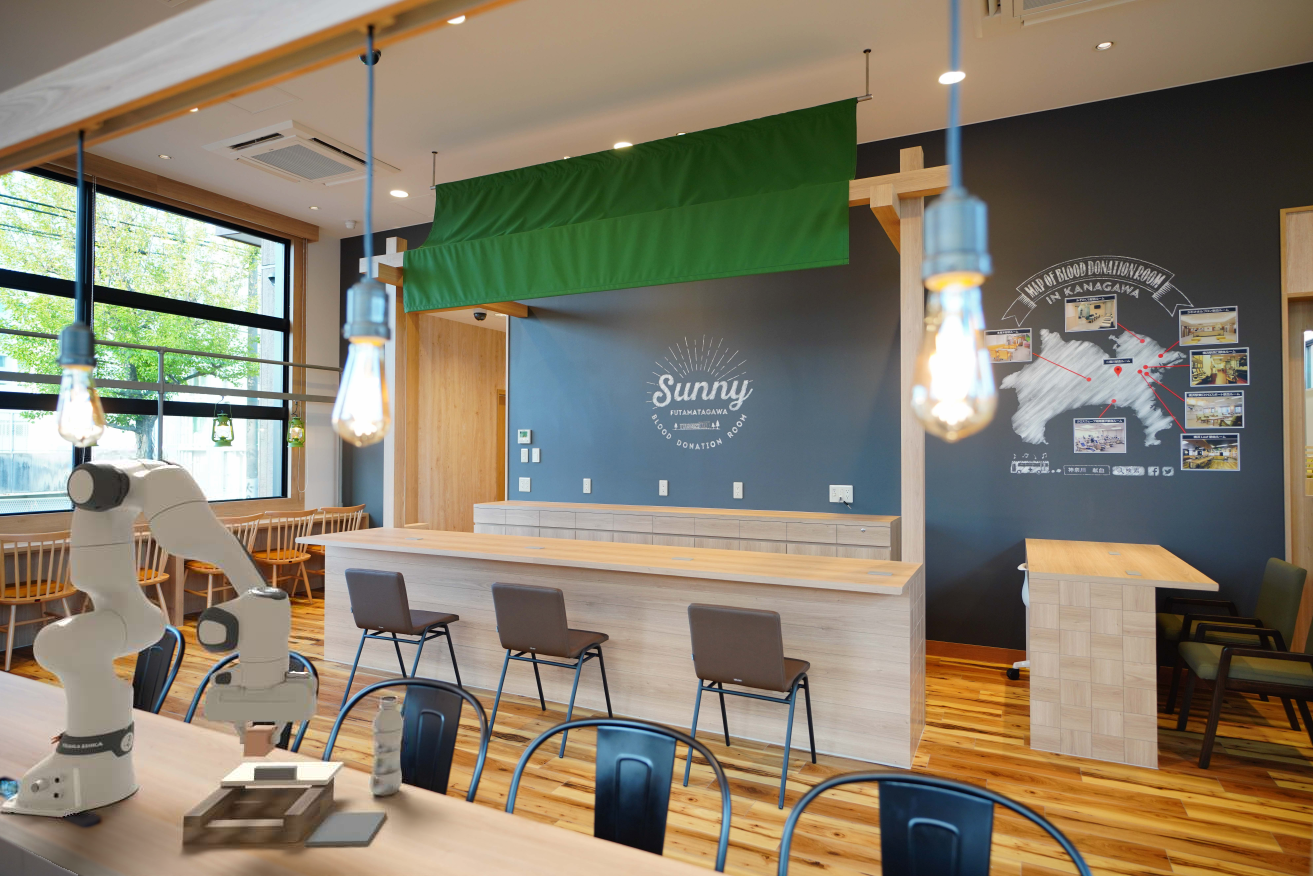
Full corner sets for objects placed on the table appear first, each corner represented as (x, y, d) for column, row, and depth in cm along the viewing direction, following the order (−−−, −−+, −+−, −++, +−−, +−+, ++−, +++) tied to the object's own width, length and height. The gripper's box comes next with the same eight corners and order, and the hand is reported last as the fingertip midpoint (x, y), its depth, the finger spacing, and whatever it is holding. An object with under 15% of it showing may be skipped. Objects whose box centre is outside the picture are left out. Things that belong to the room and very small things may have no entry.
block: (243, 756, 135) (244, 732, 135) (254, 748, 139) (255, 725, 139) (264, 756, 135) (266, 732, 136) (274, 748, 139) (276, 725, 140)
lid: (220, 786, 142) (221, 768, 142) (243, 767, 151) (244, 751, 151) (326, 784, 143) (327, 767, 144) (343, 766, 152) (344, 750, 153)
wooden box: (182, 843, 130) (183, 816, 130) (229, 803, 146) (230, 778, 146) (298, 842, 131) (299, 814, 131) (333, 801, 147) (334, 777, 147)
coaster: (306, 846, 130) (306, 841, 130) (330, 816, 141) (330, 812, 141) (367, 845, 130) (367, 840, 131) (386, 816, 141) (386, 812, 141)
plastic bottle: (371, 802, 147) (374, 705, 148) (368, 789, 153) (371, 696, 154) (403, 796, 150) (406, 701, 151) (399, 783, 156) (402, 692, 157)
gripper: (324, 667, 142) (321, 737, 141) (219, 666, 141) (215, 736, 140) (310, 676, 136) (307, 749, 135) (201, 675, 134) (197, 749, 134)
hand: (259, 743), depth 137 cm, fingers closed on block, 4 cm apart
